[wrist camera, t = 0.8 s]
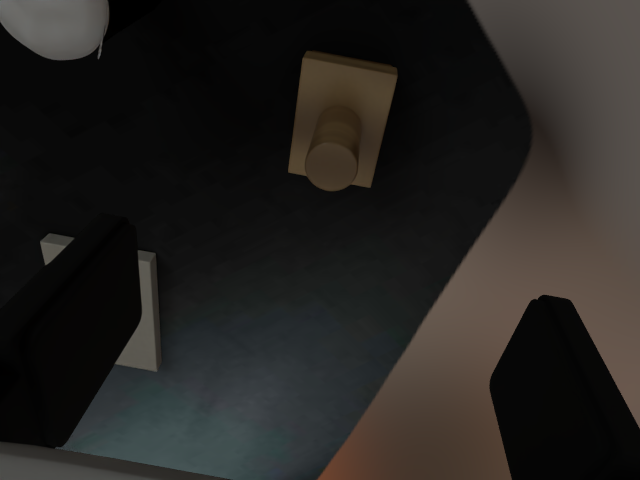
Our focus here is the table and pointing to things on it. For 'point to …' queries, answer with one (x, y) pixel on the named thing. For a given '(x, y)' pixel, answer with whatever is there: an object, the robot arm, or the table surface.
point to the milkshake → (70, 23)
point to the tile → (146, 337)
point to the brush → (340, 119)
